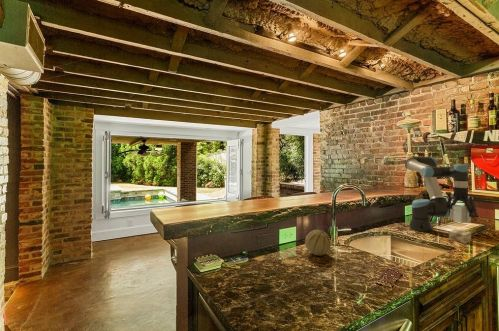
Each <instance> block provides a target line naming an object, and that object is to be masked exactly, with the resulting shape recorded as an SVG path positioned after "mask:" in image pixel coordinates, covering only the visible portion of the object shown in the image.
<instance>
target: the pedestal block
mask: <svg viewBox="0 0 499 331" xmlns="http://www.w3.org/2000/svg"><path fill="white" fill-rule="evenodd" d="M448 240H449V241H453V242H456V243H461V244H464V245H465V244H468V243H470V242H471V241H472V232H469V231H465V230H459V229H453V230H450V231H448Z"/></svg>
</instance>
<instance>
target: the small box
mask: <svg viewBox="0 0 499 331" xmlns="http://www.w3.org/2000/svg"><path fill="white" fill-rule="evenodd" d="M467 212H469V211H468V209H467V207H466V205H461V204H455V205H453V206H452V219H451V220H452V221H453V222H457V223H461V224H469V223H471V222H467Z"/></svg>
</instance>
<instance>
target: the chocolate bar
mask: <svg viewBox="0 0 499 331" xmlns="http://www.w3.org/2000/svg"><path fill="white" fill-rule="evenodd" d="M389 270H390V271H389ZM387 271H389V272H390V273H388V272H387ZM397 272H398V273H397ZM385 273H388V274H389V275H387V274H385ZM393 273H394V274H393ZM400 273H402V274H403V272H402V271H400V270H399V269H397V270H396V269H395V268H393V269H390V266H389V267H388V266H387V268H386V267H385V269H384V270H383V272H381V274H379V276H378V277H379V278H378V277H377V278H376V279H377V281H378V282H380V281H379V280H380V279H381V278H382V277H383V276H384V274H385V275H387V279H386V276H384V279H386V280H384V282H386V281H387V280H388V279H389V277H390V276H391V274H392V275H396V276H395V278H398V276H399V274H400ZM400 275H401V274H400ZM401 276H402V275H401ZM401 276H399V277H400V278H401ZM391 277H394V276H391ZM395 278H394V279H393V278H390V279H391V280H392V279H393V280H396V279H395ZM391 280H388V281H387V283H391V282H394V281H393V280H392V281H391ZM381 283H383V282H382V281H381ZM387 283H385V285H387Z"/></svg>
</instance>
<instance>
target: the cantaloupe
mask: <svg viewBox="0 0 499 331" xmlns="http://www.w3.org/2000/svg"><path fill="white" fill-rule="evenodd" d="M331 242H332V241H331V239H330V236H329V234H328V233H326V232H325V231H324V229H322V230H320V229H313V230H311V231H310V232H309V233H307V234H306V237H305V239H304V244H305V248H306V250H307V251H308V252H310V253H311V254H312V255H314V256H324V255H327V253H328V252H329V250H330V249H331V245H332V243H331Z"/></svg>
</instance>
